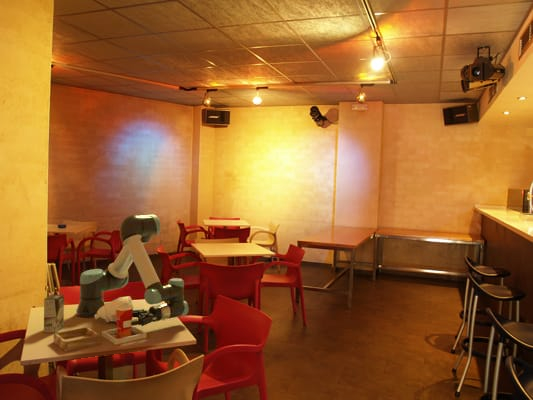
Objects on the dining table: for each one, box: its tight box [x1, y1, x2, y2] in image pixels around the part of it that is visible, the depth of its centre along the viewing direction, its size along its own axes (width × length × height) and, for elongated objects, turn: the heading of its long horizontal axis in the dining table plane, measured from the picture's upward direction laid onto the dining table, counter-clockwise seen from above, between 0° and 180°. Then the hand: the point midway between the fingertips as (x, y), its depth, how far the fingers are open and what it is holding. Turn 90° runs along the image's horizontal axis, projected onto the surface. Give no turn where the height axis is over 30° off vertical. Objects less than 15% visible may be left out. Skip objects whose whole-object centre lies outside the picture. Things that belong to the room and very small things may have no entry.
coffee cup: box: [115, 303, 135, 339], centre depth 213 cm, size 8×8×15 cm
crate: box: [53, 326, 101, 353], centre depth 203 cm, size 15×15×4 cm
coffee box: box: [43, 294, 65, 333], centre depth 220 cm, size 9×6×16 cm
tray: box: [101, 326, 147, 346], centre depth 213 cm, size 15×15×2 cm
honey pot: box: [94, 295, 134, 323], centre depth 234 cm, size 13×13×18 cm
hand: (117, 321), depth 210 cm, fingers open, 12 cm apart
